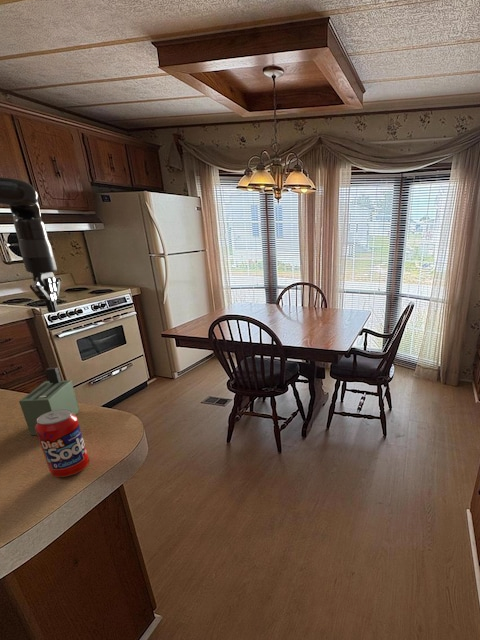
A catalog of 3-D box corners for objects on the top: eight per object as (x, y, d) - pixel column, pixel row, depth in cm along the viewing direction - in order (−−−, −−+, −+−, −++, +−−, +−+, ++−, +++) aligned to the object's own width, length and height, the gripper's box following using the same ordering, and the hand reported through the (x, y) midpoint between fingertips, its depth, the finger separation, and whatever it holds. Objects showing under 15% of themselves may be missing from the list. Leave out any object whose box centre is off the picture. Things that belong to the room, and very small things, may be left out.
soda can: (76, 455, 88) (61, 404, 83) (97, 464, 86) (83, 412, 80) (43, 474, 82) (24, 420, 76) (65, 483, 79) (46, 428, 73)
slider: (52, 380, 103) (48, 367, 101) (61, 380, 103) (57, 367, 102) (49, 383, 101) (45, 369, 100) (58, 382, 102) (54, 369, 100)
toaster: (55, 412, 107) (45, 380, 103) (79, 411, 109) (71, 379, 104) (30, 435, 96) (18, 400, 91) (59, 434, 97) (48, 399, 93)
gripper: (36, 253, 108) (51, 307, 114) (9, 256, 96) (27, 317, 102) (63, 253, 109) (76, 307, 116) (39, 257, 97) (56, 316, 104)
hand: (53, 311), depth 109 cm, fingers closed
